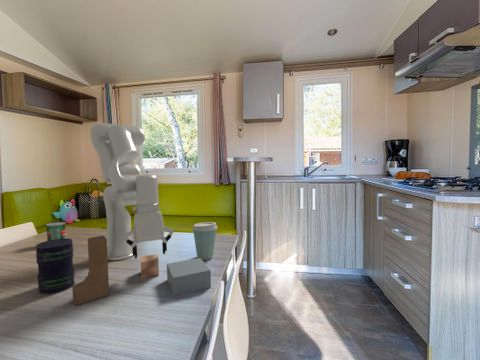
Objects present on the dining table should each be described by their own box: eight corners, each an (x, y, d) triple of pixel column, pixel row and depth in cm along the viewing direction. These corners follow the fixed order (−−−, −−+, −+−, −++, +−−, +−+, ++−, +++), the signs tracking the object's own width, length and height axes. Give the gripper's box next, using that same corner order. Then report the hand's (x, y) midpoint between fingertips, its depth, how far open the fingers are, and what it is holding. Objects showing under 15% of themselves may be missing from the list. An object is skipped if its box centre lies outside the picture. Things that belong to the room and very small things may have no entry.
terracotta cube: (141, 278, 88) (140, 262, 88) (141, 272, 94) (140, 256, 93) (158, 275, 90) (158, 259, 90) (158, 269, 96) (157, 254, 95)
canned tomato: (69, 243, 129) (68, 222, 128) (51, 248, 122) (50, 226, 121) (62, 241, 133) (61, 221, 132) (44, 245, 126) (43, 224, 126)
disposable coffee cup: (187, 259, 105) (186, 224, 105) (202, 251, 115) (202, 219, 114) (208, 263, 101) (207, 227, 100) (222, 255, 110) (221, 221, 109)
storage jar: (45, 297, 76) (43, 249, 75) (32, 289, 81) (30, 244, 80) (80, 284, 84) (78, 241, 83) (67, 277, 89) (64, 236, 88)
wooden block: (74, 306, 71) (71, 244, 70) (72, 299, 74) (69, 240, 73) (109, 295, 77) (107, 238, 76) (106, 289, 80) (103, 235, 79)
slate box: (173, 296, 76) (173, 277, 76) (167, 280, 87) (166, 263, 87) (210, 288, 81) (210, 270, 81) (200, 273, 92) (200, 257, 92)
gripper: (120, 212, 84) (123, 262, 84) (173, 208, 90) (175, 254, 91) (122, 209, 91) (125, 255, 91) (171, 205, 97) (173, 248, 98)
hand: (150, 255), depth 91 cm, fingers open, 9 cm apart
